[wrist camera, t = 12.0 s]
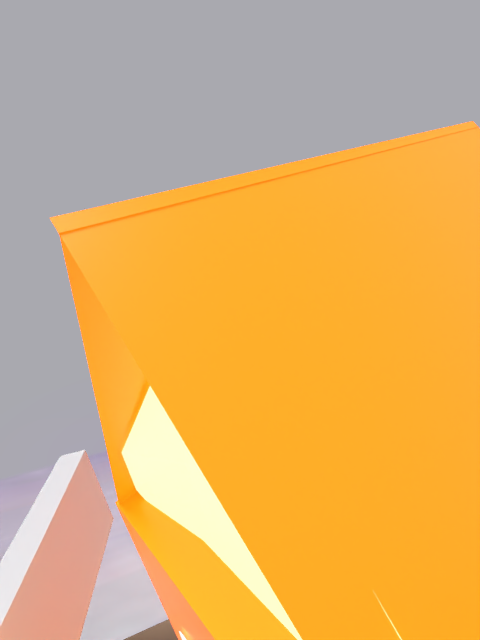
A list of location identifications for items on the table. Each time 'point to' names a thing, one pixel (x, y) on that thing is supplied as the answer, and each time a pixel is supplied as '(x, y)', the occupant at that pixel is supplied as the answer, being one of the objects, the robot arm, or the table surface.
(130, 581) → the table surface
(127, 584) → the table surface
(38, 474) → the table surface
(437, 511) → the orange juice
